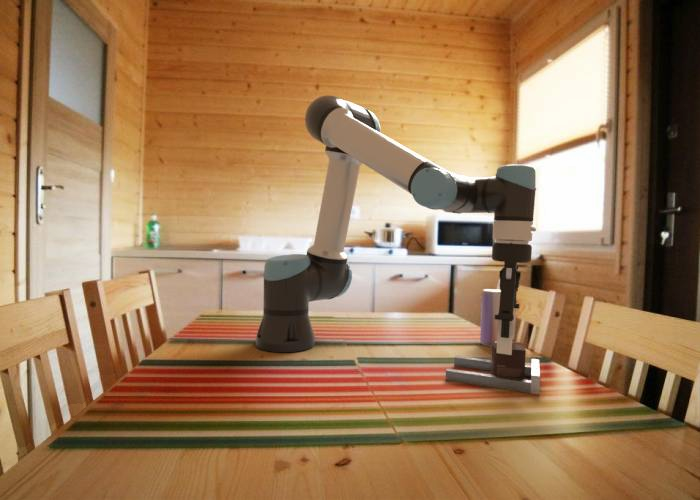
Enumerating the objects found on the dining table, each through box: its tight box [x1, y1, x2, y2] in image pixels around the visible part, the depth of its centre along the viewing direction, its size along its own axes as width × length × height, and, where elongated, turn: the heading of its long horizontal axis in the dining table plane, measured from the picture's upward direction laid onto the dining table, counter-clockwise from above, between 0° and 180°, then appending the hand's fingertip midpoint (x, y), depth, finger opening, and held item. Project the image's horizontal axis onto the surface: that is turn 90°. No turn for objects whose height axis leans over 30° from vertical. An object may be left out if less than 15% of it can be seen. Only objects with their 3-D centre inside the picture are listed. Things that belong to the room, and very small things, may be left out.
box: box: [490, 341, 527, 380], centre depth 87 cm, size 6×6×7 cm
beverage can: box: [479, 288, 501, 348], centre depth 116 cm, size 6×6×15 cm
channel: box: [445, 355, 541, 395], centre depth 88 cm, size 18×12×4 cm
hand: (506, 345), depth 87 cm, fingers open, 13 cm apart
